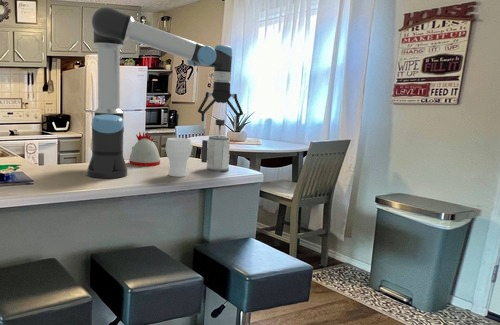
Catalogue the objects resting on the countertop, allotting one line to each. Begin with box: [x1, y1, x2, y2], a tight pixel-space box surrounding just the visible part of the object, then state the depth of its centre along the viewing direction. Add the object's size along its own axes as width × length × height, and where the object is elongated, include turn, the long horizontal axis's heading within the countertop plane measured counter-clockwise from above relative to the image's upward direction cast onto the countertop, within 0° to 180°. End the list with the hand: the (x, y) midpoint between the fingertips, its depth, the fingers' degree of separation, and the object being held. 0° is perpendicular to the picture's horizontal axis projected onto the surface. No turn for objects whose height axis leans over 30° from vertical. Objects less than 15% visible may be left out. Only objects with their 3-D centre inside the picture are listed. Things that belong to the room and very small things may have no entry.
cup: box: [165, 137, 193, 178], centre depth 183 cm, size 11×11×15 cm
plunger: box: [215, 118, 225, 137], centre depth 200 cm, size 6×6×19 cm
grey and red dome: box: [128, 131, 161, 167], centre depth 204 cm, size 14×14×15 cm
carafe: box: [200, 135, 231, 173], centre depth 201 cm, size 12×10×15 cm
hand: (219, 129), depth 199 cm, fingers open, 13 cm apart
